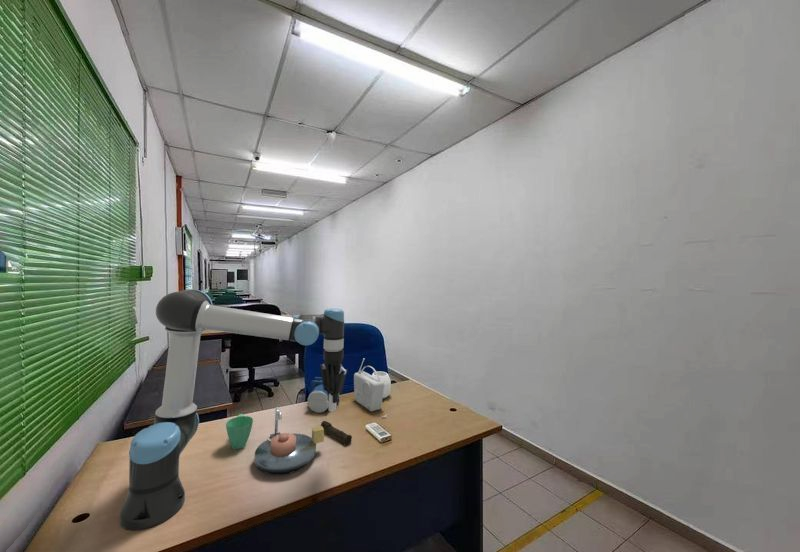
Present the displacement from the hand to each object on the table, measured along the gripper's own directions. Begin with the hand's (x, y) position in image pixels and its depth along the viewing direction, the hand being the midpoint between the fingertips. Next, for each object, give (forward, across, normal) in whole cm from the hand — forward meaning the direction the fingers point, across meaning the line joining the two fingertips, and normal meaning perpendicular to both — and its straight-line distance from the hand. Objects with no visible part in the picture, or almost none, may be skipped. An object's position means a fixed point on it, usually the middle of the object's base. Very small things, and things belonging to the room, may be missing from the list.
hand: (332, 410), depth 121 cm
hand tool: (+20, +11, -12) cm, 26 cm away
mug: (+19, +39, +14) cm, 45 cm away
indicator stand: (+19, +28, +4) cm, 34 cm away
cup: (+20, +21, -61) cm, 67 cm away
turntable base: (+19, +14, +10) cm, 26 cm away
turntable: (+17, +14, +9) cm, 24 cm away
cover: (+15, +14, +11) cm, 23 cm away
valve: (+20, +36, -30) cm, 51 cm away
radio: (+20, +20, -47) cm, 55 cm away
